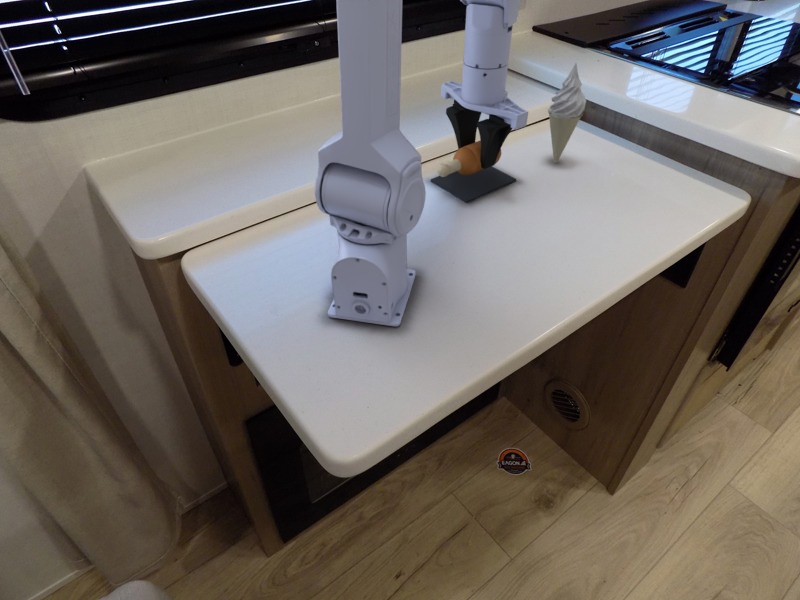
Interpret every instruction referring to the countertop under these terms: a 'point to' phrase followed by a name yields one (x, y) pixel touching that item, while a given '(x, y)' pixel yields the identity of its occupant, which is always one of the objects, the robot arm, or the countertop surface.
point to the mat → (473, 183)
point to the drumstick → (464, 161)
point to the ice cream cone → (566, 112)
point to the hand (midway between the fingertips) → (477, 160)
